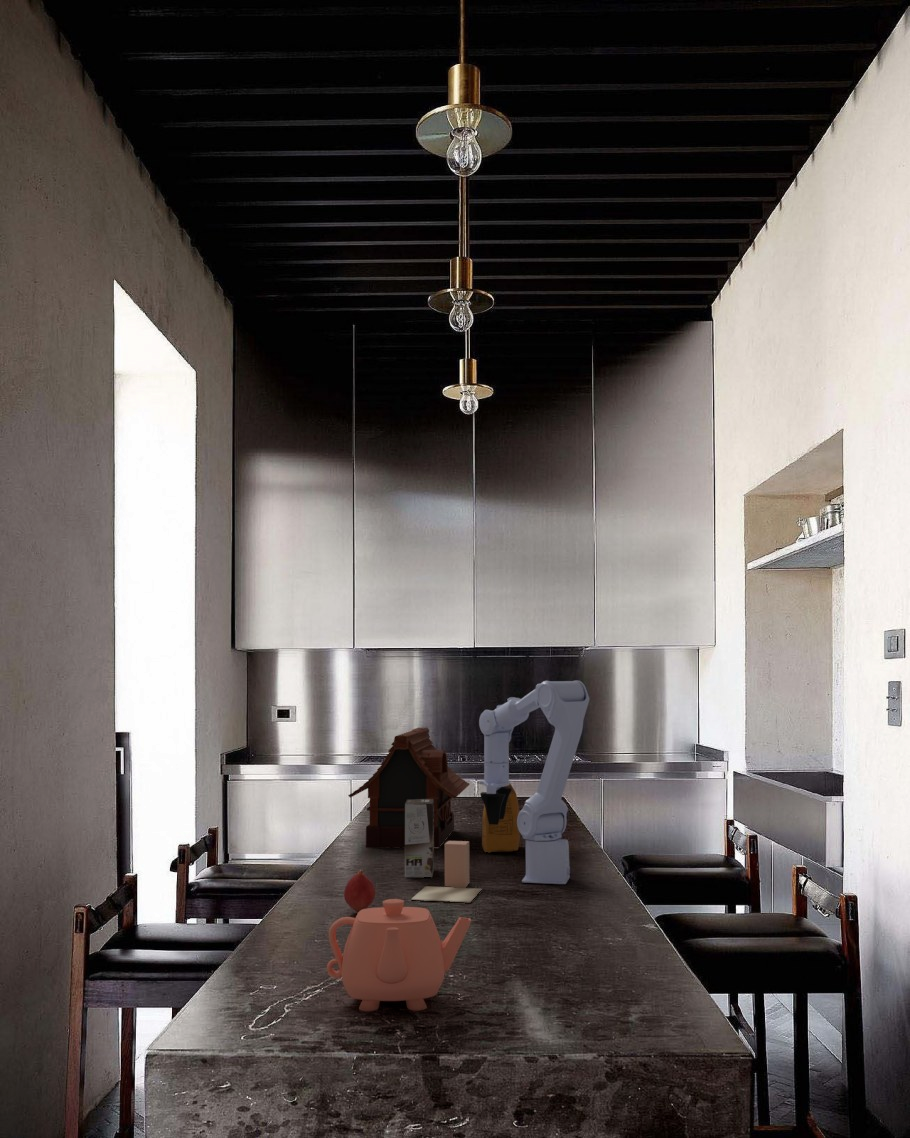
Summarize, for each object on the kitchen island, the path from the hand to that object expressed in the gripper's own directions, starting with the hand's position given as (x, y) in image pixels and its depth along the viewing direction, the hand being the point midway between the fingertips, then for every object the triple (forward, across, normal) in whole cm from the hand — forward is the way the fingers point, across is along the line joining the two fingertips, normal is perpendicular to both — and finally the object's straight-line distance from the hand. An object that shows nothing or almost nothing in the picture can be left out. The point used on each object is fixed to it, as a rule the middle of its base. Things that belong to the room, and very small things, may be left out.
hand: (496, 821), depth 235 cm
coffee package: (+11, -23, -3) cm, 26 cm away
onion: (+10, +48, -18) cm, 52 cm away
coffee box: (+11, +10, -16) cm, 22 cm away
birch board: (+10, +30, -5) cm, 32 cm away
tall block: (+10, +21, -5) cm, 24 cm away
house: (+12, -36, -29) cm, 48 cm away
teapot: (+9, +96, +3) cm, 97 cm away
